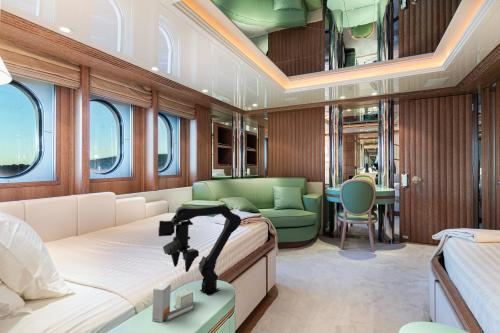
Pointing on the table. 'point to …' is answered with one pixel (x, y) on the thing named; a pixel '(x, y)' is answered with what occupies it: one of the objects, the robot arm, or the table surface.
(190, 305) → the rail
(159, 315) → the skincare box
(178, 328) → the table surface
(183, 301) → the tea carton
